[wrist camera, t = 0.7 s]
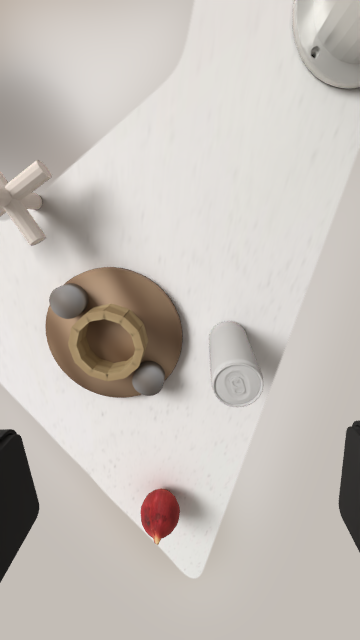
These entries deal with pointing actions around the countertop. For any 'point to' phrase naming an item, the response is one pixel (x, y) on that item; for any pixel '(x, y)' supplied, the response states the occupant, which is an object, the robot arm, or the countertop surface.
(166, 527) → the onion
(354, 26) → the robot arm
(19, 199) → the pipe connector
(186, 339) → the countertop surface
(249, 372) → the beverage can
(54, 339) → the carrier
